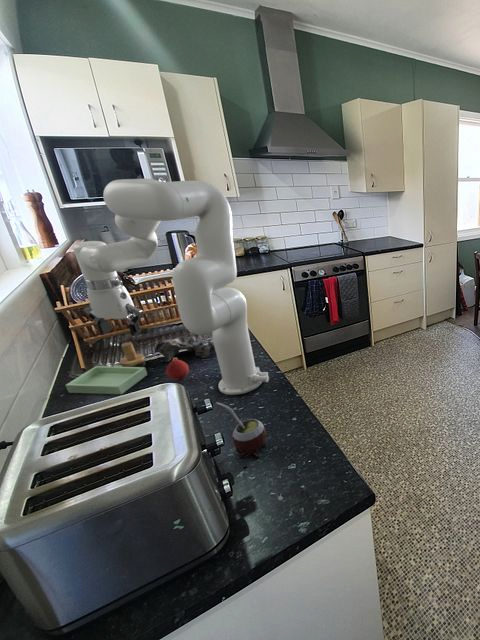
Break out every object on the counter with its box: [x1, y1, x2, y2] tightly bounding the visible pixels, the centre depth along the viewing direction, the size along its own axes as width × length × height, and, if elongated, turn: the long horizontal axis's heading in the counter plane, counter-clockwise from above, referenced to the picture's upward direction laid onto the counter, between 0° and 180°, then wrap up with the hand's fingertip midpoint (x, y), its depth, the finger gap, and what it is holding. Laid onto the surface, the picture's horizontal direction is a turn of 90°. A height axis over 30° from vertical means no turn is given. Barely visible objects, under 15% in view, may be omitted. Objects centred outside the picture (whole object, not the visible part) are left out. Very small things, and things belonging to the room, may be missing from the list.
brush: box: [119, 341, 147, 367], centre depth 115 cm, size 6×6×8 cm
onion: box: [165, 357, 190, 381], centre depth 109 cm, size 6×6×8 cm
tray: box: [64, 365, 148, 395], centre depth 107 cm, size 16×11×3 cm
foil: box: [154, 335, 214, 363], centre depth 123 cm, size 12×11×15 cm
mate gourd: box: [215, 401, 267, 460], centre depth 82 cm, size 8×8×15 cm
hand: (121, 333), depth 112 cm, fingers open, 9 cm apart
